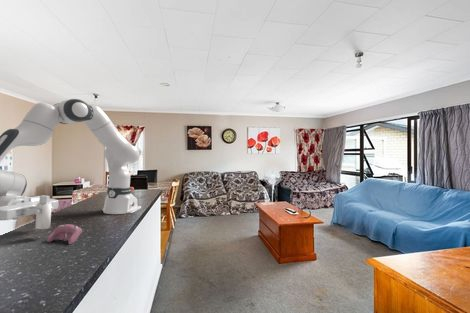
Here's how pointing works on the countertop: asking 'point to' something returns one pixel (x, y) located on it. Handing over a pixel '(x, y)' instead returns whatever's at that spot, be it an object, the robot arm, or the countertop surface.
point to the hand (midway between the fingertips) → (45, 210)
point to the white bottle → (44, 213)
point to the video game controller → (62, 231)
